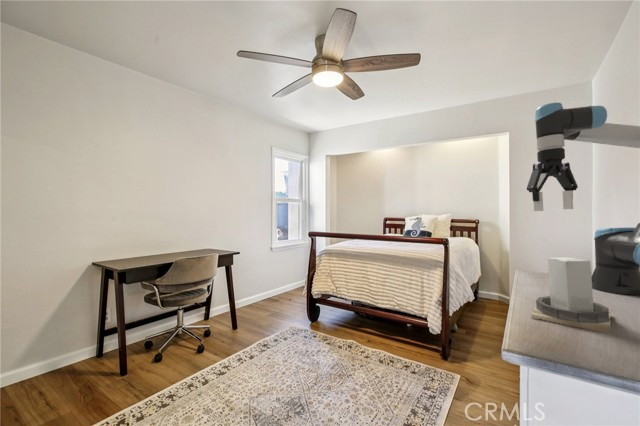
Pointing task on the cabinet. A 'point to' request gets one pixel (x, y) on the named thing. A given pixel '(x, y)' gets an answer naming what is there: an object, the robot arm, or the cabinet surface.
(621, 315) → the cabinet surface
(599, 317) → the collar
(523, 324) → the cabinet surface
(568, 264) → the skincare box
